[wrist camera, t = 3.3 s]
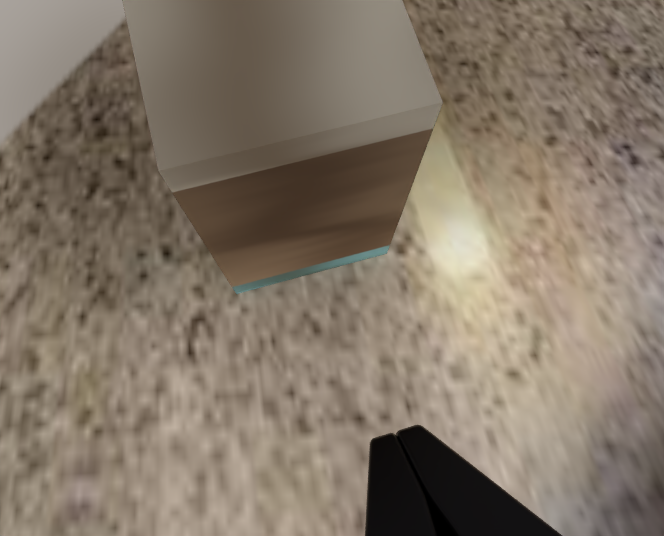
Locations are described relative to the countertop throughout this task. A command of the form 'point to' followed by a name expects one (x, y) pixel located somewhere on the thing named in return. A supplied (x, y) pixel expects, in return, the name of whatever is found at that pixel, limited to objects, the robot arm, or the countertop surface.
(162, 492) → the countertop surface
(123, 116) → the countertop surface
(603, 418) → the countertop surface
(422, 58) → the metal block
